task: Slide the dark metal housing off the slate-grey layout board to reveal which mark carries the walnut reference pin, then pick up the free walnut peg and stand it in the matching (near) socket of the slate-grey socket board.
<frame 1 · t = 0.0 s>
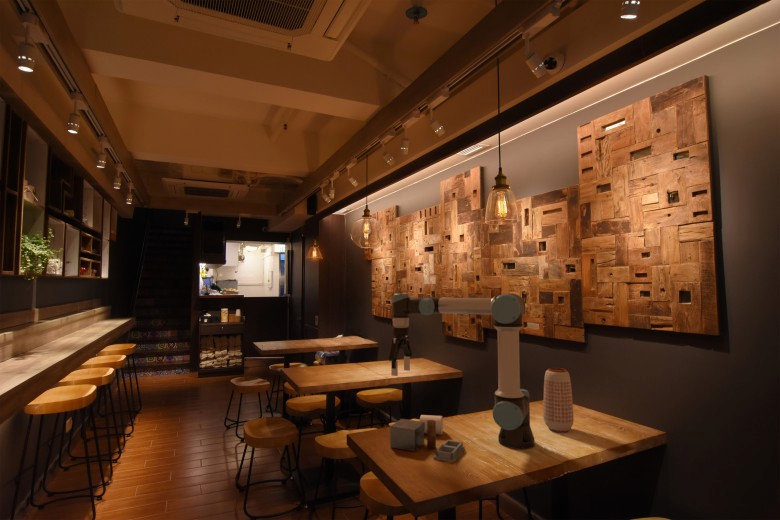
hand: (400, 373, 196), 28 cm above the table, fingers open, 13 cm apart
planter: (558, 429, 201), on the table
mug: (431, 432, 198), on the table
layout board: (407, 445, 181), on the table
socket board: (449, 454, 171), on the table
peg: (431, 447, 178), on the table
housing: (407, 434, 181), point 5 cm above the table, slide at 0.0 cm
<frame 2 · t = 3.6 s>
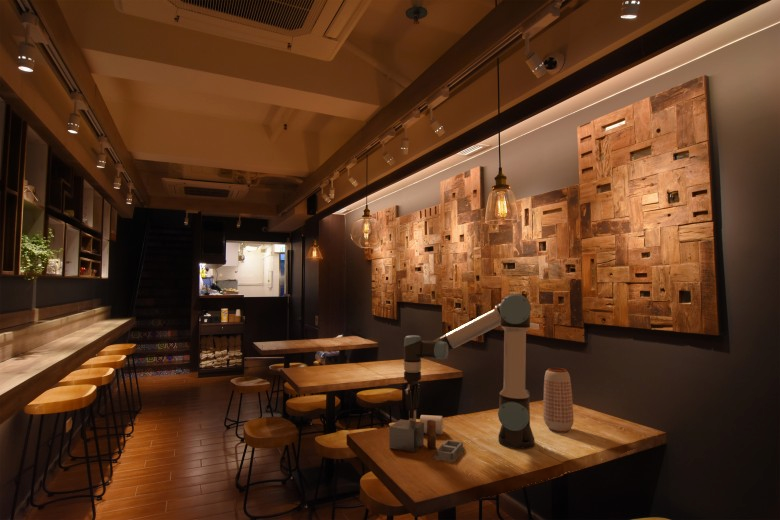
hand: (412, 425, 186), 7 cm above the table, fingers closed
housing: (407, 435, 180), point 5 cm above the table, slide at 0.9 cm, touching gripper
everything else where it was.
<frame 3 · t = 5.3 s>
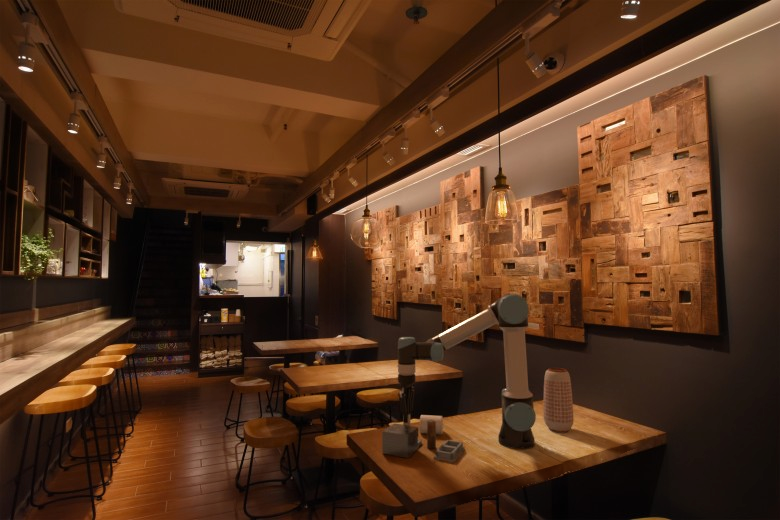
hand: (406, 429, 180), 7 cm above the table, fingers closed
housing: (400, 439, 174), point 5 cm above the table, slide at 7.3 cm, touching gripper
everything else where it was.
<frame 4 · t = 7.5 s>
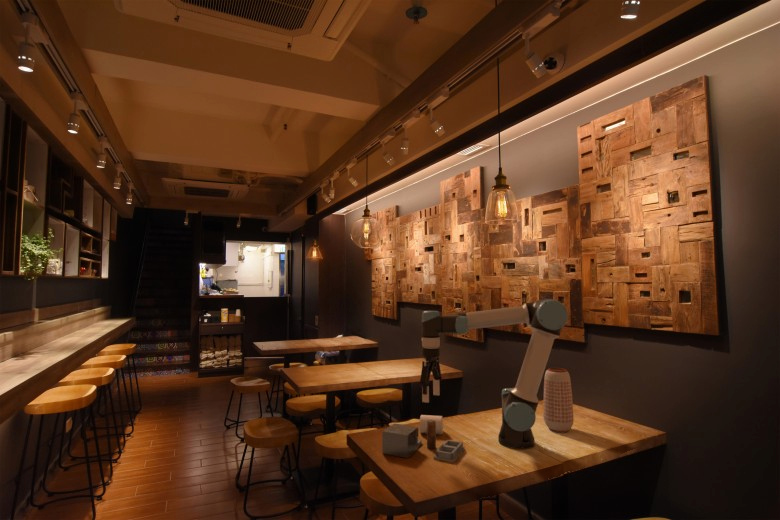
hand: (431, 398, 179), 20 cm above the table, fingers open, 12 cm apart
housing: (400, 439, 174), point 5 cm above the table, slide at 7.3 cm
everything else where it was.
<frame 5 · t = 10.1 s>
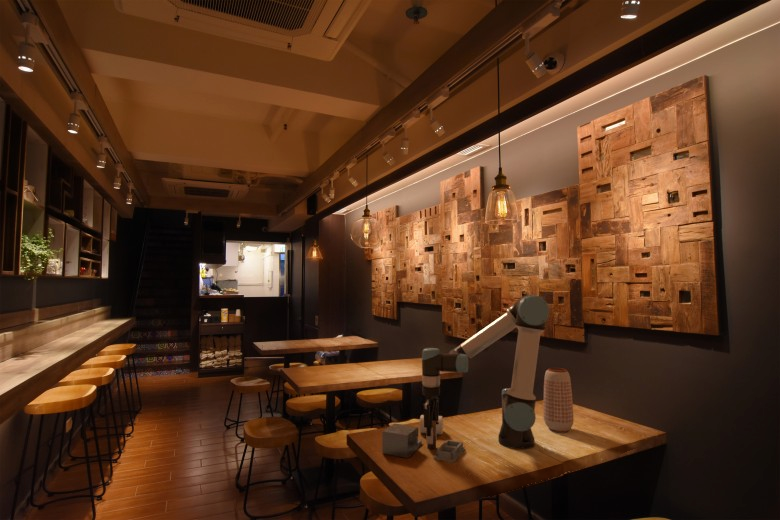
hand: (431, 441, 178), 3 cm above the table, fingers closed on peg, 3 cm apart
peg: (431, 447, 178), on the table, touching gripper
everything else where it was.
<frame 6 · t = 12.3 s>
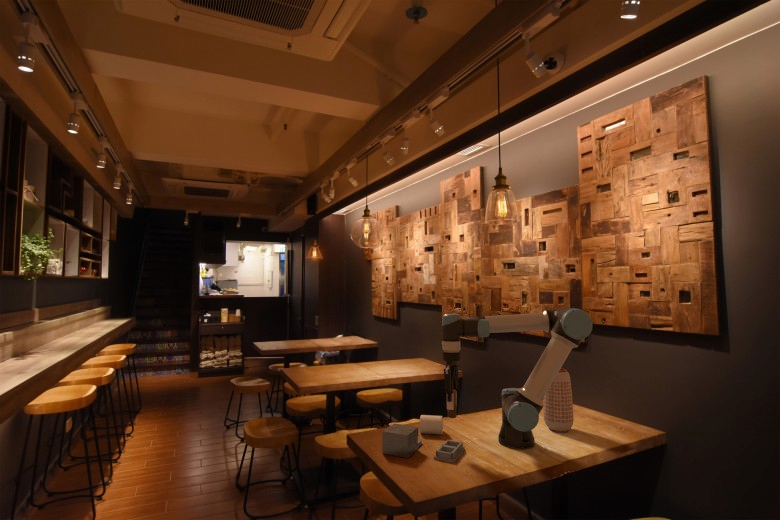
hand: (451, 407, 176), 17 cm above the table, fingers closed on peg, 3 cm apart
peg: (451, 416, 175), point 14 cm above the table, touching gripper
everything else where it was.
when the fingers open (5 cm above the table, at t = 14.7 s): peg stays where it is, resting on socket board.
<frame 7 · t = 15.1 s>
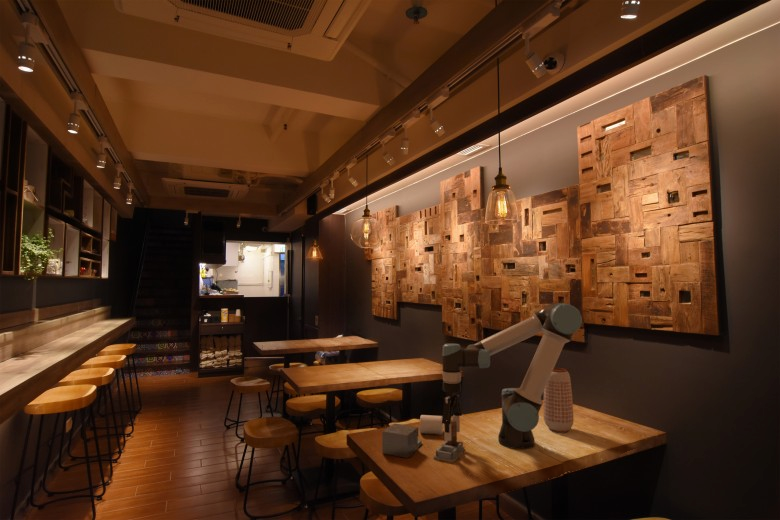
hand: (452, 435, 175), 6 cm above the table, fingers open, 10 cm apart
peg: (452, 448, 175), point 1 cm above the table, touching socket board
everything else where it was.
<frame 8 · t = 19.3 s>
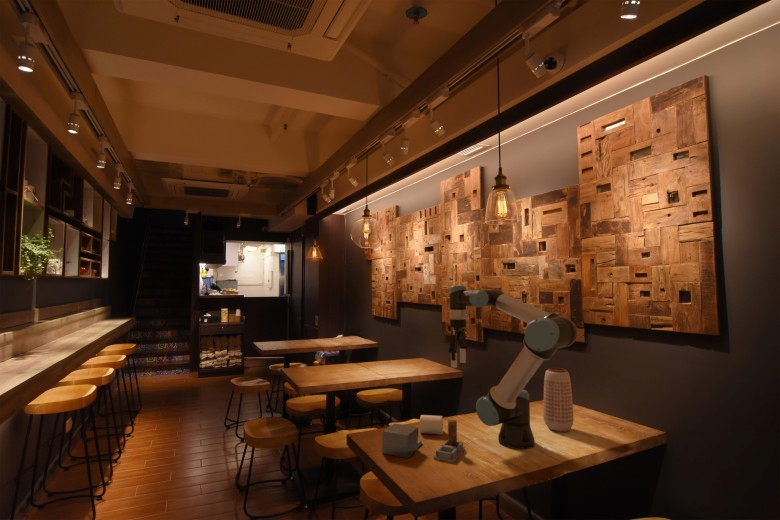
hand: (458, 365, 195), 32 cm above the table, fingers open, 13 cm apart
nothing on the table moved.
at the end: housing slide at 7.3 cm; peg 0.1 cm from the target spot on the socket board, point 1.2 cm above the socket board's base; peg tilted 0° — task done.
